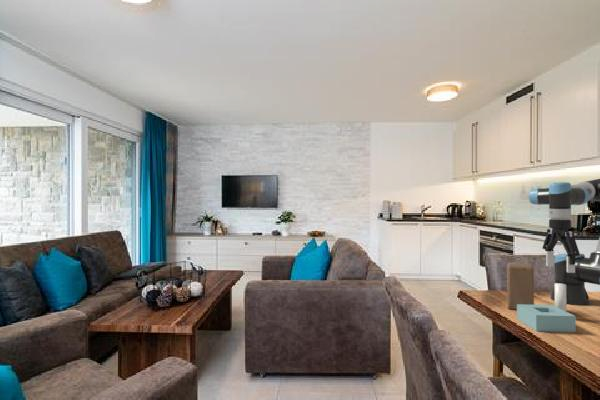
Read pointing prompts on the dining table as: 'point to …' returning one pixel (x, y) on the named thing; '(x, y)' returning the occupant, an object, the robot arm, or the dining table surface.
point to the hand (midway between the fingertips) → (559, 269)
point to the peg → (560, 296)
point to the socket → (546, 318)
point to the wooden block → (520, 284)
